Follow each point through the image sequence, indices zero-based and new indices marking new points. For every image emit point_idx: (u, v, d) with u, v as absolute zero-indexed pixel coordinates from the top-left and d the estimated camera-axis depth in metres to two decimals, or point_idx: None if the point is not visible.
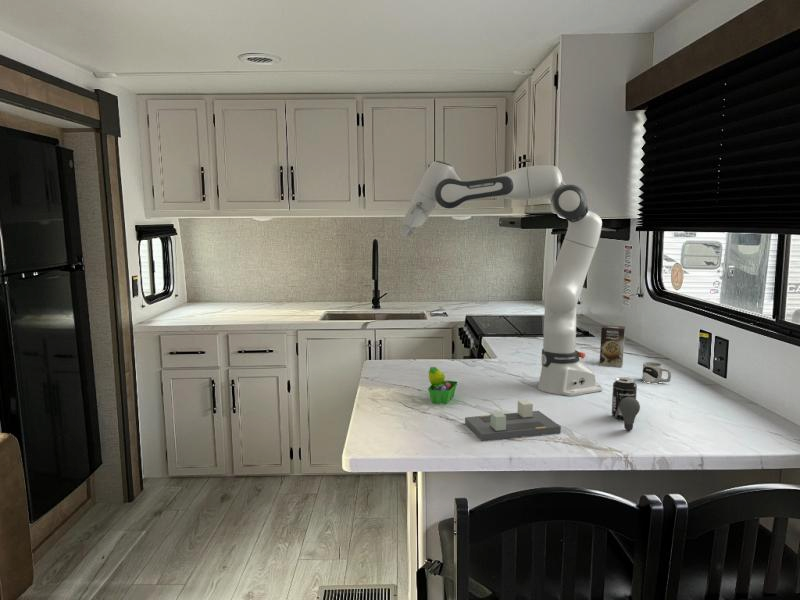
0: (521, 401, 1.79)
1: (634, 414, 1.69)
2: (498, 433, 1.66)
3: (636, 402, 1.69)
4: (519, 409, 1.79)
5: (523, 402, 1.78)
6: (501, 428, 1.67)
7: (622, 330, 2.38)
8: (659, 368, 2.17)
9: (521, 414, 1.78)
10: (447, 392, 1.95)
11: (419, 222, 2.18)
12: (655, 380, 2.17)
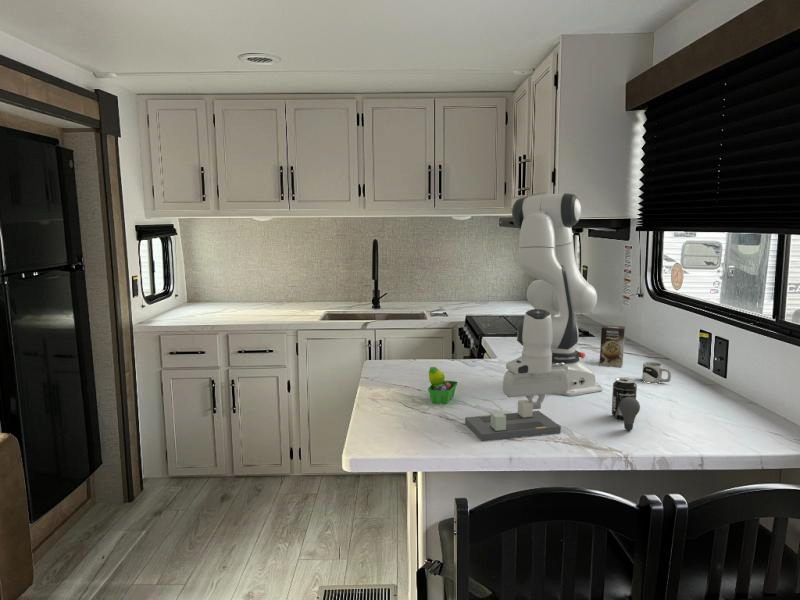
0: (521, 401, 1.79)
1: (634, 414, 1.69)
2: (498, 433, 1.66)
3: (636, 402, 1.69)
4: (519, 409, 1.79)
5: (523, 402, 1.78)
6: (501, 428, 1.67)
7: (622, 330, 2.38)
8: (659, 368, 2.17)
9: (521, 414, 1.78)
10: (447, 392, 1.95)
11: None
12: (655, 380, 2.17)
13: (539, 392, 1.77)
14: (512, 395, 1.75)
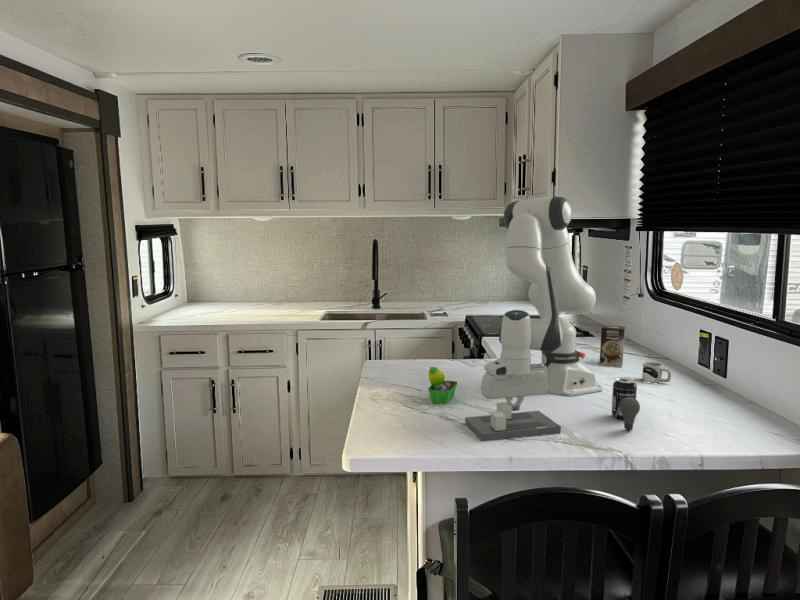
0: (500, 403, 1.78)
1: (634, 414, 1.69)
2: (498, 433, 1.66)
3: (636, 402, 1.69)
4: (498, 411, 1.78)
5: (502, 404, 1.77)
6: (501, 428, 1.67)
7: (622, 330, 2.38)
8: (659, 368, 2.17)
9: None
10: (447, 392, 1.95)
11: None
12: (655, 380, 2.17)
13: (518, 394, 1.76)
14: (490, 397, 1.74)
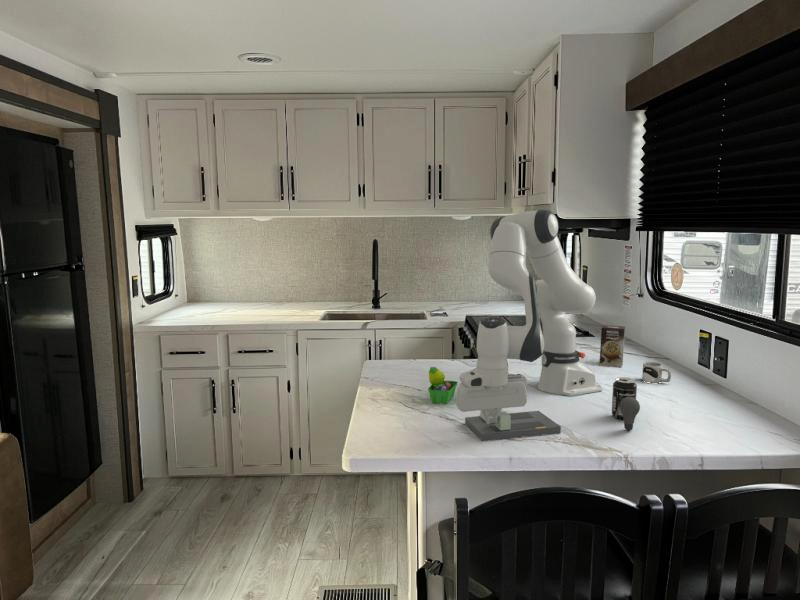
0: None
1: (634, 414, 1.69)
2: (498, 433, 1.66)
3: (636, 402, 1.69)
4: (482, 412, 1.77)
5: None
6: (506, 428, 1.67)
7: (622, 330, 2.38)
8: (659, 368, 2.17)
9: (483, 417, 1.75)
10: (447, 392, 1.95)
11: None
12: (655, 380, 2.17)
13: (495, 406, 1.66)
14: (466, 409, 1.64)
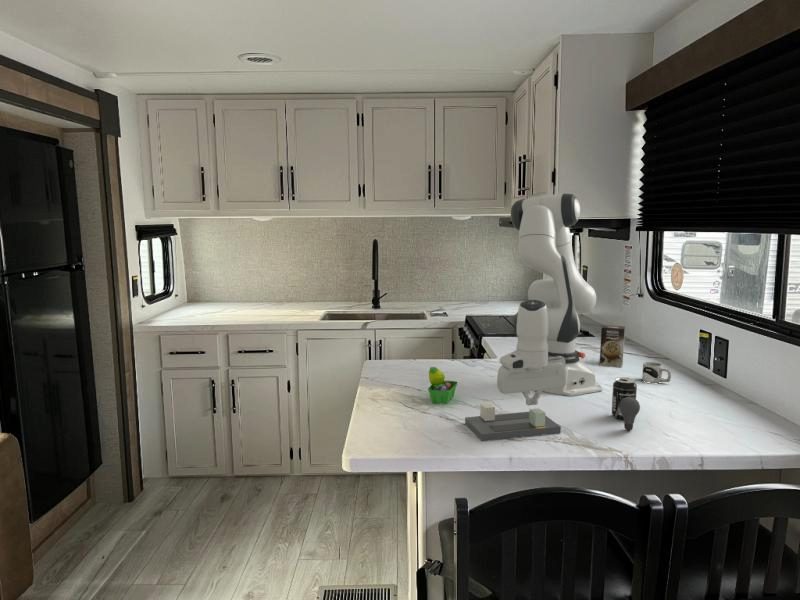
0: (484, 404, 1.77)
1: (634, 414, 1.69)
2: (498, 433, 1.66)
3: (636, 402, 1.69)
4: (482, 412, 1.77)
5: (485, 405, 1.76)
6: (540, 424, 1.70)
7: (622, 330, 2.38)
8: (659, 368, 2.17)
9: (483, 417, 1.75)
10: (447, 392, 1.95)
11: None
12: (655, 380, 2.17)
13: (535, 387, 1.68)
14: (507, 391, 1.66)
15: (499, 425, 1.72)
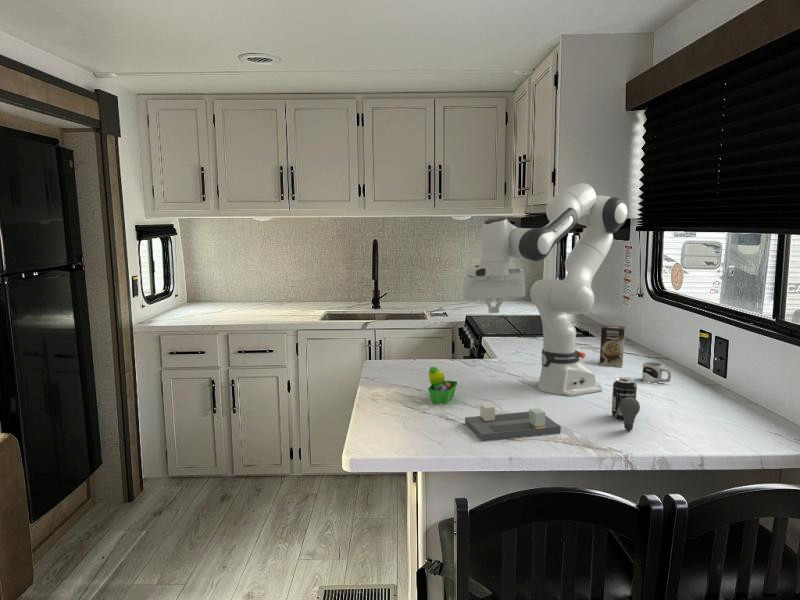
0: (484, 404, 1.77)
1: (634, 414, 1.69)
2: (498, 433, 1.66)
3: (636, 402, 1.69)
4: (482, 412, 1.77)
5: (485, 405, 1.76)
6: (540, 424, 1.70)
7: (622, 330, 2.38)
8: (659, 368, 2.17)
9: (483, 417, 1.75)
10: (447, 392, 1.95)
11: None
12: (655, 380, 2.17)
13: (497, 296, 1.87)
14: (471, 298, 1.85)
15: (499, 425, 1.72)
